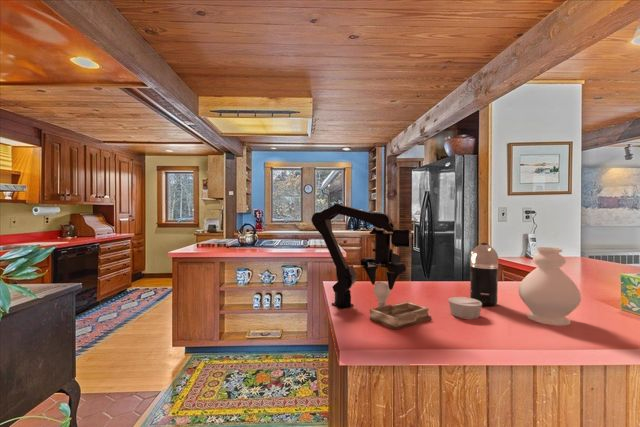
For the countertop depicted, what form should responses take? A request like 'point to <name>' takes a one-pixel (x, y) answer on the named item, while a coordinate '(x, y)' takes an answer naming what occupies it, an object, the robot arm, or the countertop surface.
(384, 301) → the lightbulb
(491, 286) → the black copper bottle
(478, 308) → the ramekin
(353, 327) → the countertop surface
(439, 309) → the countertop surface
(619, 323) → the countertop surface
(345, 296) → the robot arm
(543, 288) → the decorative vase
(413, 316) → the wooden tray
